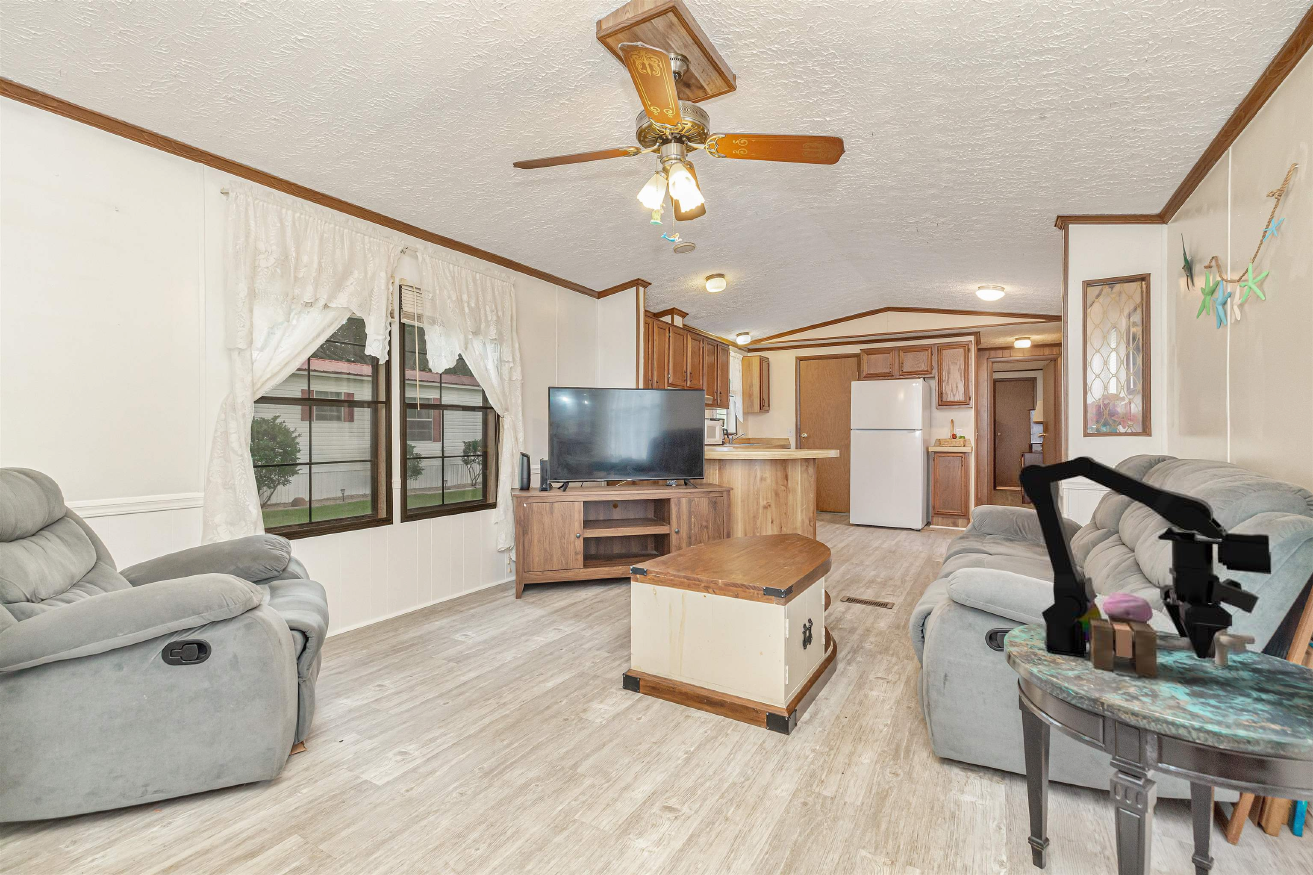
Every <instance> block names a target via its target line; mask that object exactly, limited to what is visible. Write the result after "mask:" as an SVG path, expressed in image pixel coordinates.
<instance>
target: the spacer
mask: <svg viewBox="0 0 1313 875" xmlns="http://www.w3.org/2000/svg"><path fill="white" fill-rule="evenodd" d="M1111 626H1112V627H1113V629H1114V631H1115V642H1113V654H1114V655H1115V657H1118V658H1126V659H1130V658H1132V630H1131V629H1130V628H1129V626H1128V625H1127V624H1126V623H1120V622H1111Z"/></svg>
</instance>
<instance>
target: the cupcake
mask: <svg viewBox="0 0 1313 875" xmlns="http://www.w3.org/2000/svg"><path fill="white" fill-rule="evenodd" d="M1102 610H1103V612H1104V614H1105V615H1106V616H1107V619H1108V621H1109V623H1110V624H1111V622H1120V623H1126V624H1127V625H1128V626H1129V622H1138V623H1147V624H1148V622H1149V621H1150V620H1152V619H1153V617H1154V616H1153V615H1154V614H1153V609H1152V606H1151V605H1150V603H1149V602H1148V601H1147V599H1145V598H1144V597H1140V596H1137V595H1133V594H1128V593H1126V592H1125V593H1124V592H1122V593H1121V592H1120V593H1119V592H1113V593H1110V595H1109V596H1108V597H1107V598H1106V599H1105V600H1104V601H1103V602H1102Z"/></svg>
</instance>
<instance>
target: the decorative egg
mask: <svg viewBox="0 0 1313 875" xmlns="http://www.w3.org/2000/svg"><path fill="white" fill-rule="evenodd" d="M1089 617H1093V618H1102V619H1103V617H1102V614H1101V611H1100V608H1099V607H1098V605H1097V604H1096V602H1095V603H1094V606H1093V608H1092V609H1091V610H1090V611H1089V612H1088V613H1087V614H1086V615H1084V616H1083V617H1082V618H1081V619H1079V620H1080V621H1081V622H1082V624H1083V628H1084V629H1085V631H1086V642H1087V641H1088V642H1089Z"/></svg>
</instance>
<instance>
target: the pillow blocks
mask: <svg viewBox="0 0 1313 875" xmlns="http://www.w3.org/2000/svg"><path fill="white" fill-rule="evenodd" d="M1129 628H1130V629H1131V630H1132V631H1134V639H1135V644H1132V658H1129V662H1130V663H1131V665H1132V667H1133V668H1134V670H1135V672H1136V673H1137V675H1138V676H1139V675H1140V676H1144V677H1145V676H1146V677H1152V678H1153V677H1154V678H1158V659H1157V658H1158V656H1157V654H1158V652H1157V649H1158V647H1156V634H1157V632H1156V630H1155V629H1154V628H1153V626H1151V625H1150V623H1148V622H1147V623H1138V622H1129ZM1088 642H1089V644H1088V646H1089V647H1088V650H1089V651H1088V652H1089V653H1088V654H1089V655H1088V656H1089V660H1090V663H1091V665H1092V667H1093V669H1098V670H1105V671H1111V672H1114V671H1113V657H1114V651H1113V627H1112V626H1111V624H1110V621H1109V619H1108V618H1103V617H1102V618H1093V617H1089V641H1088Z"/></svg>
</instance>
